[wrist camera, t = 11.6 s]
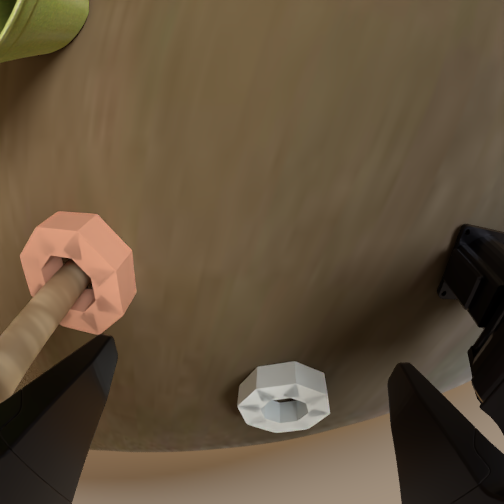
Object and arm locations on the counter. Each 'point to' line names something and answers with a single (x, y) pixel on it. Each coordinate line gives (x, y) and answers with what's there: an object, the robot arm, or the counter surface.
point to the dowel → (38, 324)
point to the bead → (283, 397)
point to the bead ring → (83, 267)
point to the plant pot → (38, 26)
